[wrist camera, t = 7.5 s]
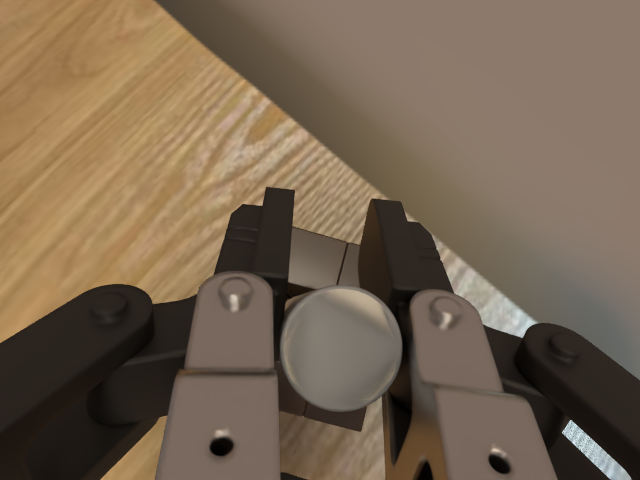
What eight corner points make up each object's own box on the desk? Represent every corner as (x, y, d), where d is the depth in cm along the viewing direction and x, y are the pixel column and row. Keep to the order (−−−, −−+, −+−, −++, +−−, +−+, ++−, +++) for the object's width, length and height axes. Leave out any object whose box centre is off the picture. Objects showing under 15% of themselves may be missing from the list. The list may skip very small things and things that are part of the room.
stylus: (328, 302, 20) (416, 302, 8) (316, 347, 20) (387, 426, 7) (284, 290, 20) (298, 270, 8) (272, 335, 20) (264, 394, 7)
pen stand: (373, 272, 28) (401, 256, 22) (340, 410, 26) (361, 432, 20) (243, 236, 27) (236, 210, 22) (201, 373, 26) (180, 385, 20)
